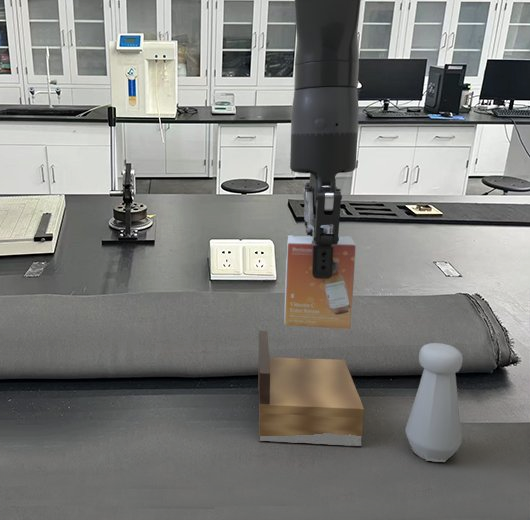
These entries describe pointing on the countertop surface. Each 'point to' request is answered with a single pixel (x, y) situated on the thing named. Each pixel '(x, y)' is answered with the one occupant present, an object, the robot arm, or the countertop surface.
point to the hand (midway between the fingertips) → (318, 270)
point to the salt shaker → (436, 404)
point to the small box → (319, 285)
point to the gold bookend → (306, 396)
